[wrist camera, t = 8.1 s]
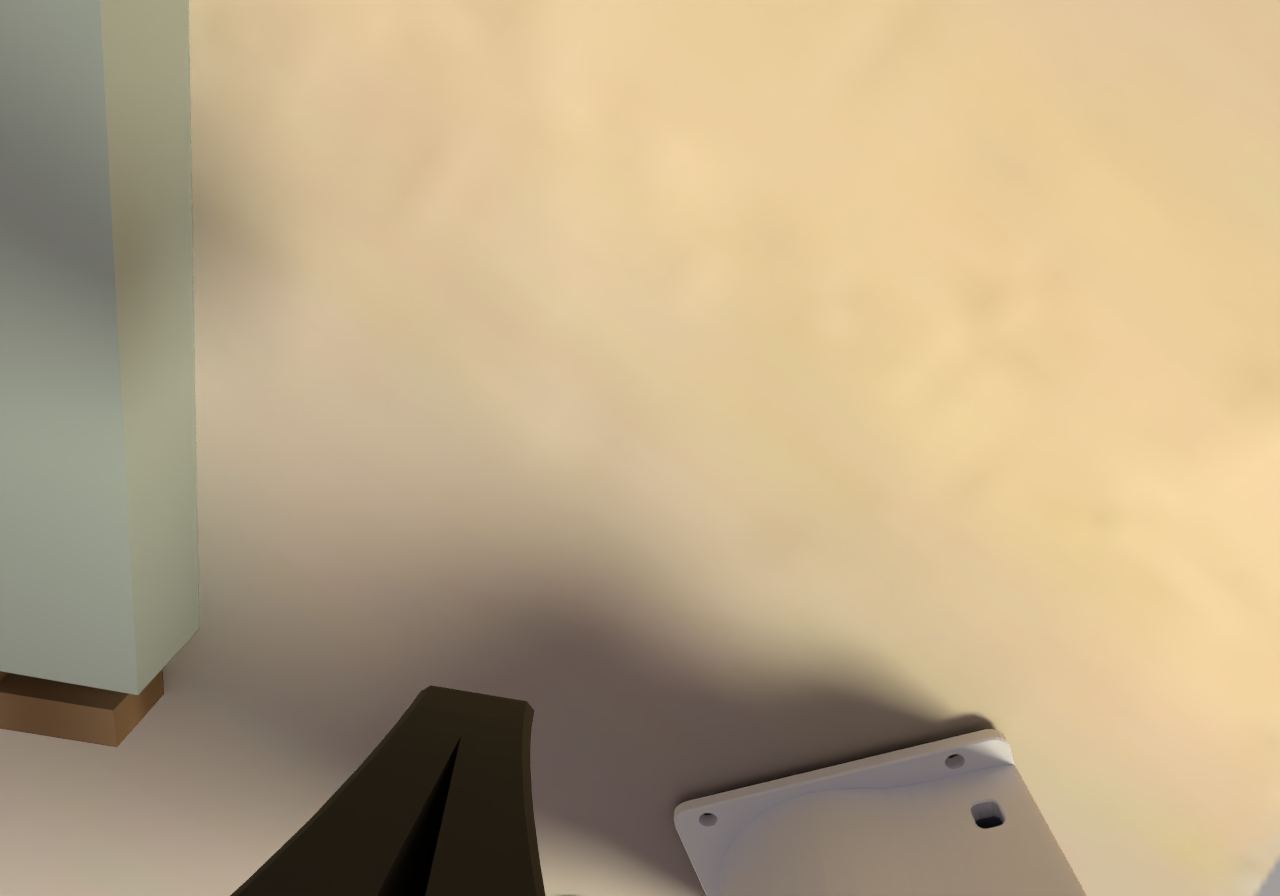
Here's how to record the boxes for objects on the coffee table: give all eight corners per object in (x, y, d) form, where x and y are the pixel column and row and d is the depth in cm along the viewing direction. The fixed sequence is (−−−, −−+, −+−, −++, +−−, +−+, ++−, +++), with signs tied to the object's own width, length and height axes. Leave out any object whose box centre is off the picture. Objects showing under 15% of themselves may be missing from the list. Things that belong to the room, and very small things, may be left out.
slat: (198, -54, 15) (94, -95, 12) (206, 620, 21) (138, 694, 18) (-14, -102, 15) (-169, -156, 12) (56, 593, 21) (-36, 664, 18)
